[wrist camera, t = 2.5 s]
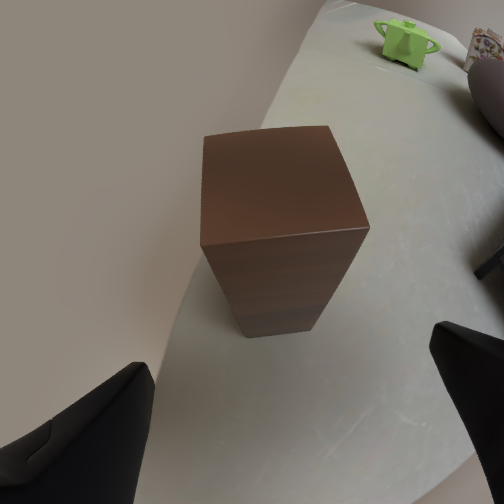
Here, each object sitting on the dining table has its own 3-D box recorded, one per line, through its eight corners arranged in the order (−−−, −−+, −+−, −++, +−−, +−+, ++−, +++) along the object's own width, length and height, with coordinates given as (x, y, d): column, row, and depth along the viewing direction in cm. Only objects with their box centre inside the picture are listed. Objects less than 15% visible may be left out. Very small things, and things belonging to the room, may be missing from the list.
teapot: (404, 50, 46) (411, 17, 36) (442, 76, 39) (452, 39, 30) (359, 47, 44) (363, 8, 35) (399, 72, 38) (408, 27, 29)
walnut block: (310, 330, 19) (371, 227, 7) (246, 338, 19) (199, 246, 7) (301, 272, 21) (328, 124, 9) (242, 279, 21) (203, 136, 9)
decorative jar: (497, 85, 43) (511, 42, 27) (495, 92, 40) (513, 44, 24) (466, 64, 47) (478, 21, 31) (461, 69, 44) (474, 20, 28)
